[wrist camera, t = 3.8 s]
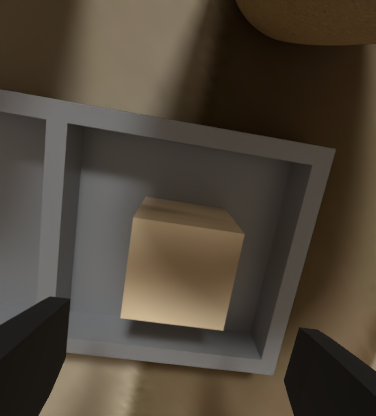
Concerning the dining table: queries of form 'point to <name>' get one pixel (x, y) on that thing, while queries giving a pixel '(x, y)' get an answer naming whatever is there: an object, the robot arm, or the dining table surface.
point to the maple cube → (181, 264)
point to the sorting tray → (123, 218)
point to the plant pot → (313, 20)
